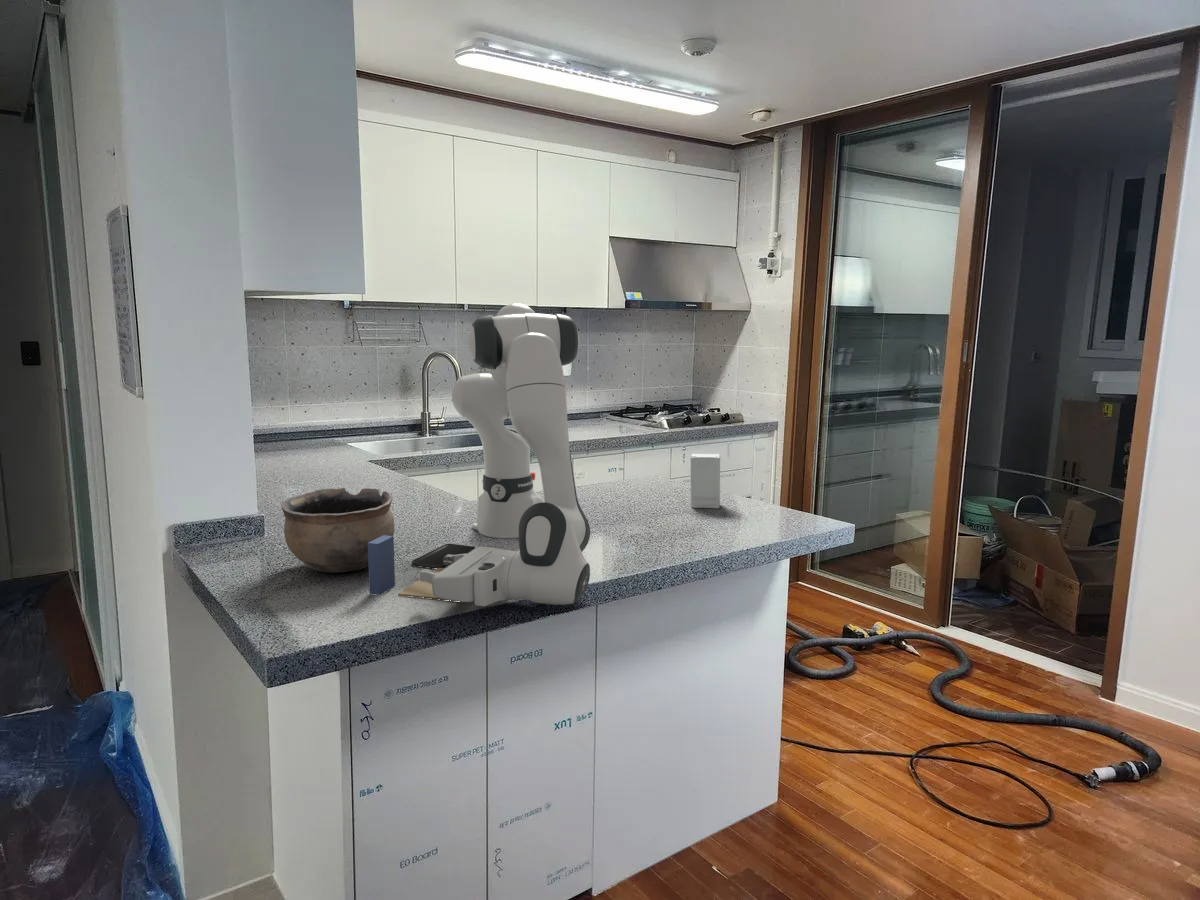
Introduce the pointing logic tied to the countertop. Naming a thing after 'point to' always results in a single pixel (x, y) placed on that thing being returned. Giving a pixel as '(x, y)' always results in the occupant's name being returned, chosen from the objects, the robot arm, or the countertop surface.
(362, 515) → the ceramic bowl
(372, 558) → the box
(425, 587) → the mat
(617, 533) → the countertop surface
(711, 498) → the skincare box
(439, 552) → the phone
